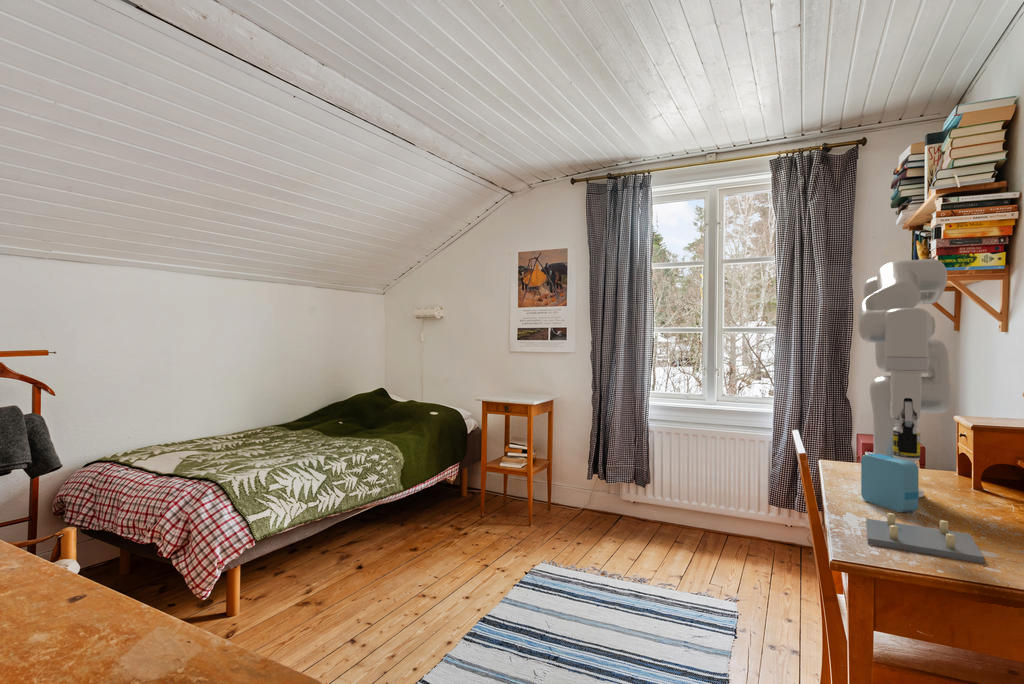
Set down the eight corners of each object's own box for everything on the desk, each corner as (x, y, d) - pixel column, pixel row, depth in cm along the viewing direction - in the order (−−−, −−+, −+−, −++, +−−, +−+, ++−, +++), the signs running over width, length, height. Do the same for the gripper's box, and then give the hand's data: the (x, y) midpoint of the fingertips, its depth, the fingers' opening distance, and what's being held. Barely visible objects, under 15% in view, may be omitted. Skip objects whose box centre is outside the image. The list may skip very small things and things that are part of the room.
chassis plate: (866, 523, 121) (866, 507, 121) (969, 539, 112) (969, 521, 112) (867, 543, 110) (867, 525, 110) (983, 563, 100) (983, 543, 100)
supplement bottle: (887, 457, 117) (887, 418, 117) (901, 455, 118) (901, 417, 118) (911, 461, 112) (911, 421, 112) (925, 460, 114) (925, 420, 114)
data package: (919, 512, 129) (919, 462, 129) (903, 514, 128) (903, 464, 128) (875, 498, 141) (875, 452, 141) (860, 499, 140) (860, 453, 140)
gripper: (883, 364, 125) (883, 443, 124) (886, 366, 110) (886, 455, 110) (924, 365, 120) (924, 446, 120) (932, 367, 106) (933, 459, 106)
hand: (906, 449), depth 115 cm, fingers closed on supplement bottle, 4 cm apart
